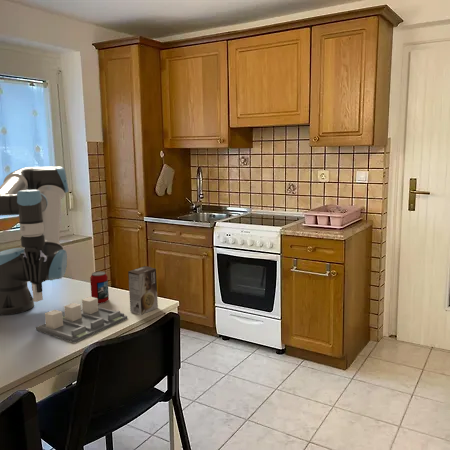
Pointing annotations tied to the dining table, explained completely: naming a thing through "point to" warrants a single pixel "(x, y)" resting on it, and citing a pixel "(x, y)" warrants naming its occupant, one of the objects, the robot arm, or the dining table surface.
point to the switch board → (85, 325)
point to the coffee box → (143, 290)
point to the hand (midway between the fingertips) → (38, 300)
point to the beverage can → (99, 286)
